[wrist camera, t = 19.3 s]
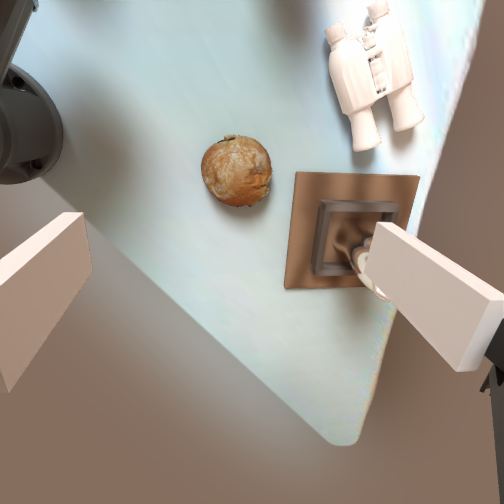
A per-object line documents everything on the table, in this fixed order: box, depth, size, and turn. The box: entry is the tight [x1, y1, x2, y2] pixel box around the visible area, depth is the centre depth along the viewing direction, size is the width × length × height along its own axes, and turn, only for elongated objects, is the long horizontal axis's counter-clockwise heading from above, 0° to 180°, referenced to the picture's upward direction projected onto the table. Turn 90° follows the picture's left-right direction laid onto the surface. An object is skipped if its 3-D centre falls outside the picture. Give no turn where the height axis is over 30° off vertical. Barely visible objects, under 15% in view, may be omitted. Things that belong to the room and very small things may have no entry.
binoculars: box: [325, 0, 424, 152], centre depth 42 cm, size 10×16×5 cm, turn 27°
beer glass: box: [332, 219, 391, 302], centre depth 45 cm, size 7×7×15 cm
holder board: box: [284, 172, 420, 288], centre depth 51 cm, size 20×20×4 cm
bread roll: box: [201, 135, 272, 207], centre depth 44 cm, size 10×10×8 cm
